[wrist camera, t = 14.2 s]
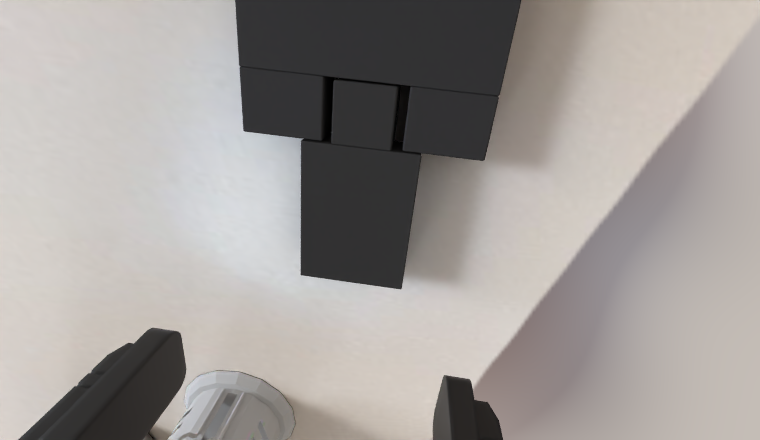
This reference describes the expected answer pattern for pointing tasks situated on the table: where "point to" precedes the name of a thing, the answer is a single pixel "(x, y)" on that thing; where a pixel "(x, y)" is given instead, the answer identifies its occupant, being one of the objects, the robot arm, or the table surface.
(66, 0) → the table surface
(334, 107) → the small pad
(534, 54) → the table surface
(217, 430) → the french press
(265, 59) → the large pad
